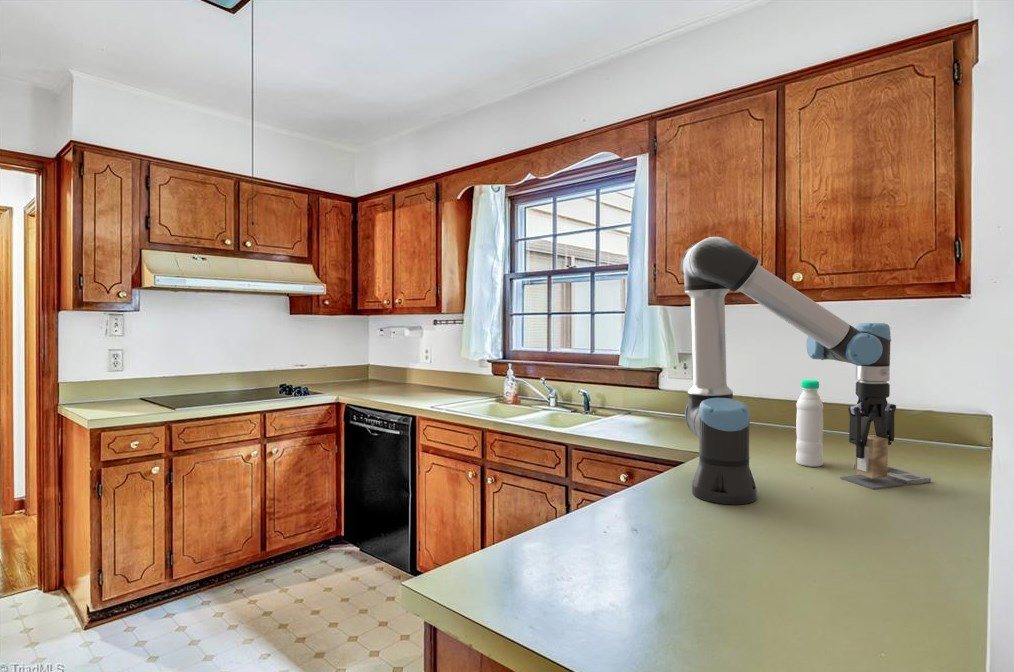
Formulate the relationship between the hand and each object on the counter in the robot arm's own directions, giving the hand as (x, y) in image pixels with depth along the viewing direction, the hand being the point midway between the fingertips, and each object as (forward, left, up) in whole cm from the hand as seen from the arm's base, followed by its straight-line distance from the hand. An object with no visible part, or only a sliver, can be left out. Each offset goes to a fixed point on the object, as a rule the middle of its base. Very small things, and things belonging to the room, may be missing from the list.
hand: (871, 469), depth 150 cm
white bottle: (-2, +19, -4) cm, 19 cm away
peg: (0, 0, -2) cm, 2 cm away
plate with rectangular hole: (+10, +3, -3) cm, 11 cm away
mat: (0, 0, -3) cm, 3 cm away
